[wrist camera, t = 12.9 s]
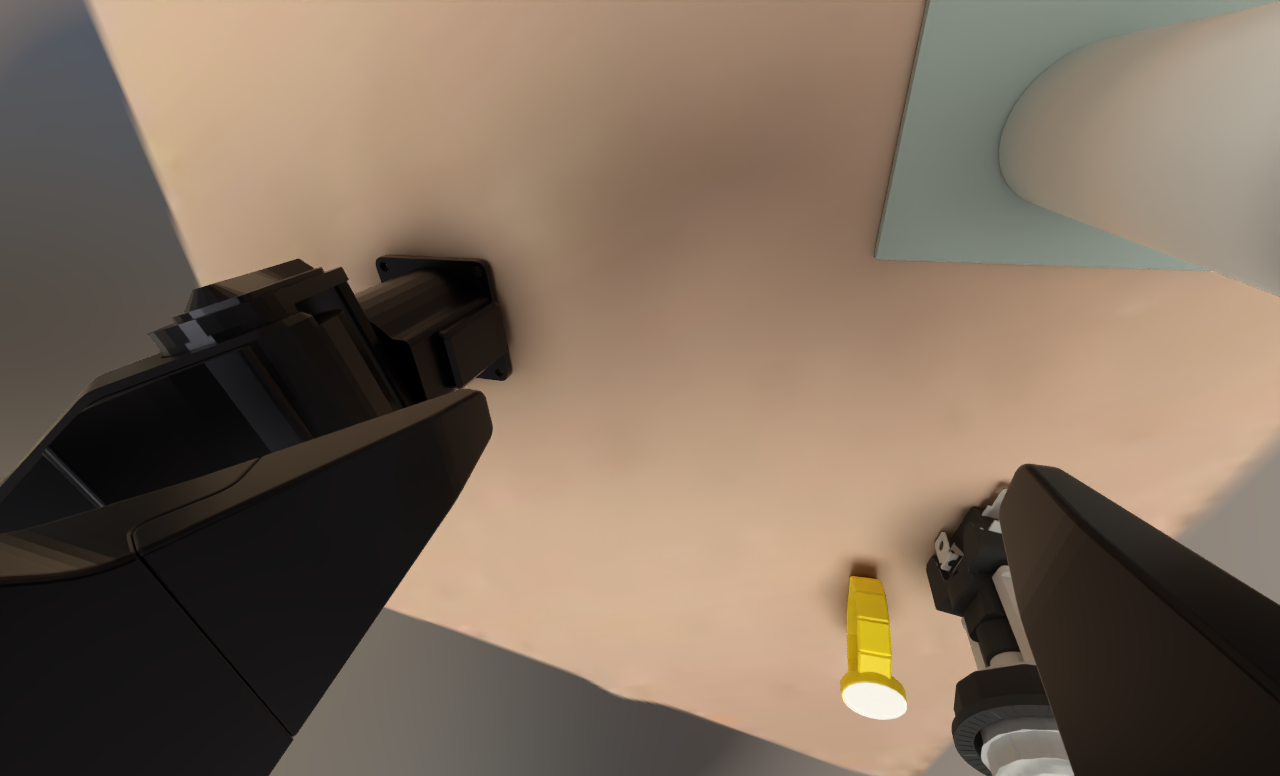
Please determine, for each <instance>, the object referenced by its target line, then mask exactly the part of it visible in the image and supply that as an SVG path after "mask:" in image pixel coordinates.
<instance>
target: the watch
mask: <svg viewBox="0 0 1280 776" xmlns="http://www.w3.org/2000/svg"><path fill="white" fill-rule="evenodd" d="M849 580H850V583H849V594H848V604H847V657H848V671H849V672H848V673H846V674H845V675H844V676H843V677H842V679H841V682H840V685H841V696H842V700H843V701H844V702H845V704H846V705H847V706H848V707H849V708H851V709H852V710H853V711H855V712H857V713H858V714H860V715H863V716H866V717H869V718H873V719H881V720H885V719H894V718H897V717H900V716H901V715H903V714H904V713H905V711H906V710H907V700H906V694H905V689H904V688H903V686H902V684H901V683H900V682H899V681H898V680H896V679H895V678H894V677H892V676H891V675H892V658H891V655H892V652H891V636H890V625H889V615H888V608H887V601H886V595H885V592H884V589H883V585H882V583H881V581H880V580H878V579H872V578H864V577H857V576H851V577H849Z"/></svg>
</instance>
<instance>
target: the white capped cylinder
mask: <svg viewBox="0 0 1280 776" xmlns="http://www.w3.org/2000/svg"><path fill="white" fill-rule="evenodd" d="M999 162H1000V168H1001V171H1002V175H1003V177H1004V179H1005V181H1006V183H1007V184H1008V186H1009V187H1010V188H1011V190H1012V191H1013V192H1014V193H1016V194H1017V195H1018V196H1019V197H1021V198H1022V199H1024V200H1026V201H1028V202H1030V203H1033V204H1035V205H1038V206H1040V207H1043V208H1046V209H1048V210H1051V211H1054V212H1056V213H1059V214H1061V215H1064V216H1067V217H1069V218H1072V219H1075V220H1077V221H1080V222H1083V223H1085V224H1088V225H1091V226H1093V227H1096V228H1099V229H1101V230H1104V231H1107V232H1109V233H1112V234H1115V235H1117V236H1120V237H1122V238H1125V239H1128V240H1130V241H1133V242H1136V243H1138V244H1141V245H1144V246H1146V247H1149V248H1152V249H1154V250H1157V251H1160V252H1162V253H1165V254H1168V255H1170V256H1173V257H1176V258H1178V259H1181V260H1184V261H1186V262H1189V263H1191V264H1194V265H1197V266H1199V267H1202V268H1205V269H1207V270H1210V271H1213V272H1215V273H1218V274H1221V275H1223V276H1226V277H1229V278H1231V279H1234V280H1237V281H1239V282H1242V283H1245V284H1247V285H1250V286H1253V287H1255V288H1258V289H1260V290H1263V291H1266V292H1268V293H1271V294H1274V295H1276V296H1279V297H1280V2H1275V3H1271V4H1266V5H1261V6H1257V7H1252V8H1247V9H1243V10H1238V11H1233V12H1229V13H1224V14H1219V15H1215V16H1210V17H1205V18H1201V19H1196V20H1191V21H1187V22H1182V23H1177V24H1173V25H1168V26H1163V27H1159V28H1154V29H1149V30H1145V31H1140V32H1135V33H1131V34H1126V35H1121V36H1117V37H1112V38H1107V39H1103V40H1100V41H1097V42H1094V43H1091V44H1088V45H1086V46H1083V47H1081V48H1079V49H1077V50H1075V51H1073V52H1071V53H1070V54H1068V55H1066V56H1064V57H1063V58H1061V59H1060V60H1058V61H1057V62H1055V63H1054V64H1053V65H1051V66H1050V67H1049V68H1048V69H1046V70H1045V71H1044V72H1043V73H1042V74H1040V75H1039V76H1038V77H1037V78H1036V79H1035V80H1034V81H1033V82H1032V83H1031V84H1030V86H1029V87H1028V88H1027V89H1026V90H1025V92H1024V93H1023V94H1022V95H1021V97H1020V98H1019V100H1018V101H1017V102H1016V104H1015V105H1014V107H1013V109H1012V111H1011V113H1010V114H1009V116H1008V119H1007V121H1006V123H1005V126H1004V128H1003V132H1002V135H1001V140H1000V146H999Z"/></svg>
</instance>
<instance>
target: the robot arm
mask: <svg viewBox="0 0 1280 776" xmlns="http://www.w3.org/2000/svg"><path fill="white" fill-rule="evenodd" d="M386 264H387V266H388V267H387V266H386ZM376 267H377V270H378V273H379V276H380V279H381V282H382V283H381V284H379V285H376V286H374V287H372V288H369V289H367V290H364V291H362V292H360V293H357V294H355V295H354V293H353V291H352V290H351V288H350V286H349V284H348V282H347V280H349V279H348V277H347V275H346V274H345V272H344V270H343V268H342V267H339V268H335V269H332V270H329V271H325V272H324V271H323V269H322V267H320V268H315V269H314V268H313V267H311V266H310V265H308V264H306V263H305V262H303V261H302V260H300V259H296V260H292V261H289V262H286V263H283V264H279V265H276V266H273V267H269V268H266V269H263V270H259V271H256V272H253V273H249V274H246V275H242V276H239V277H235V278H232V279H228V280H225V281H221V282H218V283H214V284H211V285H208V286H204V287H201V288H198V289H195V290H192V293H191V295H190V298H189V300H188V303H187V305H186V308H185V311H184V313H181V314H178V315H176V316H173V317H171V319H172V321H173V322H174V323H172V324H169V325H167V326H164V327H162V328H159V329H157V330H154V331H152V332H149V333H147V335H148V336H149V337H150V338H151V340H152V341H153V342H154V343H155V345H156V346H157V347H158V348H159V350H160V353H158V354H155V355H152V356H150V357H147V358H144V359H142V360H139V361H136V362H133V363H131V364H129V365H125V366H123V367H120V368H118V369H115V370H112V371H109V372H107V373H104V374H102V375H100V376H98V377H97V378H95V379H94V380H93V381H92V382H90V383H89V385H88V386H87V387H86V388H85V389H84V390H83V391H82V393H80V395H79V396H78V397H77V398H76V399H75V400H74V401H73V403H72V404H71V405H70V406H69V407H68V408H67V409H66V410H65V412H63V414H62V415H61V416H60V417H59V418H58V419H57V420H56V421H55V423H54V424H53V425H52V426H51V427H50V428H49V429H48V430H47V432H46V433H45V434H44V435H43V436H42V437H41V438H40V439H39V441H38V442H37V443H36V444H35V445H34V446H33V447H32V448H31V450H30V451H29V452H28V453H27V454H26V455H25V456H24V457H23V459H22V460H21V461H20V462H19V463H18V464H17V465H16V467H14V469H13V470H12V471H11V472H10V473H8V474H7V475H5V476H3V477H1V478H0V776H269V775H270V773H271V772H272V770H273V769H274V767H275V766H276V764H277V763H278V762H279V760H280V759H281V757H282V756H283V754H284V753H285V751H286V750H287V748H288V747H289V745H290V744H291V743H292V741H293V736H295V735H296V734H297V733H298V732H299V730H300V729H301V727H302V726H303V724H304V723H305V721H306V720H307V718H308V717H309V716H310V714H311V713H312V711H313V710H314V708H315V707H316V705H317V704H318V702H319V701H320V699H321V698H322V697H323V695H324V694H325V692H326V690H327V689H328V687H329V686H330V685H331V683H332V682H333V680H334V679H335V678H336V676H337V675H338V673H339V672H340V670H341V669H342V667H343V666H344V664H345V663H346V661H347V660H348V658H349V657H350V655H351V654H352V652H353V651H354V650H355V648H356V647H357V645H358V644H359V642H360V641H361V639H362V638H363V637H364V635H365V634H366V632H367V631H368V629H369V628H370V626H371V625H372V623H373V622H374V620H375V619H376V617H377V616H378V615H379V613H380V612H381V610H382V609H383V607H384V606H385V604H386V603H387V601H388V600H389V599H390V597H391V596H392V594H393V593H394V591H395V590H396V588H397V587H398V585H399V584H400V582H401V581H402V579H403V578H404V577H405V575H406V574H407V572H408V571H409V569H410V568H411V566H412V565H413V563H414V562H415V560H416V559H417V558H418V556H419V555H420V553H421V552H422V550H423V549H424V547H425V546H426V544H427V543H428V541H429V540H430V539H431V537H432V536H433V534H434V533H435V531H436V530H437V528H438V527H439V525H440V524H441V522H442V521H443V519H444V518H445V517H446V515H447V514H448V512H449V511H450V509H451V508H452V506H453V505H454V503H455V501H456V500H457V498H458V496H459V495H460V493H461V491H462V490H463V488H464V486H465V484H466V482H467V480H468V479H469V477H470V475H471V473H472V471H473V469H474V468H475V466H476V464H477V462H478V460H479V458H480V457H481V455H482V453H483V451H484V449H485V447H486V446H487V444H488V442H489V440H490V438H491V435H492V430H493V426H492V421H491V417H490V413H489V409H488V405H487V400H486V397H485V395H484V394H483V393H482V392H481V391H477V390H470V389H462V388H464V387H465V386H466V385H467V384H468V383H470V382H471V381H472V380H473V379H475V378H483V379H491V380H499V381H504V380H506V379H507V378H508V377H509V376H510V375H511V366H510V361H509V356H508V351H507V350H508V348H507V343H506V338H505V333H504V328H503V323H502V318H501V313H500V308H499V306H498V303H497V298H496V293H495V288H494V283H493V278H492V273H491V269H490V266H489V265H488V263H487V262H485V261H484V260H481V259H466V258H443V257H420V256H398V255H385V256H382V257H379V258H378V259H377V260H376ZM477 267H479V268H480V269H481V271H482V274H480V273H479V272H478V270H477ZM499 369H501V370H502V371H503V373H502V372H501V371H500V370H499ZM457 389H459V390H457ZM455 390H457V391H455ZM999 522H1000V527H1001V532H1002V537H1003V541H1004V546H1005V551H1006V556H1007V560H1008V565H1009V570H1010V575H1011V579H1012V584H1013V589H1014V593H1015V598H1016V603H1017V607H1018V611H1019V615H1020V618H1021V622H1022V625H1023V628H1024V631H1025V634H1026V637H1027V640H1028V643H1029V646H1030V649H1031V652H1032V655H1033V657H1034V660H1035V663H1036V666H1037V669H1038V672H1039V675H1040V678H1041V681H1042V684H1043V686H1044V689H1045V692H1046V695H1047V698H1048V701H1049V704H1050V707H1051V710H1052V713H1053V715H1054V718H1055V721H1056V724H1057V727H1058V730H1059V733H1060V736H1061V739H1062V742H1063V744H1064V747H1065V750H1066V753H1067V756H1068V759H1069V762H1070V765H1071V768H1072V771H1073V773H1074V776H1280V605H1278V604H1277V603H1276V602H1274V601H1272V600H1271V599H1269V598H1267V597H1266V596H1264V595H1263V594H1261V593H1259V592H1258V591H1256V590H1255V589H1253V588H1251V587H1250V586H1248V585H1247V584H1245V583H1243V582H1242V581H1240V580H1238V579H1237V578H1235V577H1234V576H1232V575H1230V574H1229V573H1227V572H1226V571H1224V570H1222V569H1221V568H1219V567H1217V566H1216V565H1214V564H1213V563H1211V562H1209V561H1208V560H1206V559H1205V558H1203V557H1201V556H1200V555H1198V554H1197V553H1195V552H1193V551H1192V550H1190V549H1188V548H1187V547H1185V546H1184V545H1182V544H1180V543H1179V542H1177V541H1176V540H1174V539H1172V538H1171V537H1169V536H1168V535H1166V534H1164V533H1163V532H1161V531H1159V530H1158V529H1156V528H1155V527H1153V526H1151V525H1150V524H1148V523H1147V522H1145V521H1143V520H1142V519H1140V518H1139V517H1137V516H1135V515H1134V514H1132V513H1130V512H1129V511H1127V510H1126V509H1124V508H1122V507H1121V506H1119V505H1118V504H1116V503H1114V502H1113V501H1111V500H1109V499H1108V498H1106V497H1105V496H1103V495H1101V494H1100V493H1098V492H1097V491H1095V490H1093V489H1092V488H1090V487H1089V486H1087V485H1085V484H1084V483H1082V482H1080V481H1079V480H1077V479H1076V478H1074V477H1072V476H1071V475H1069V474H1068V473H1066V472H1064V471H1063V470H1061V469H1059V468H1056V467H1051V466H1043V465H1035V464H1024V465H1021V466H1020V467H1019V468H1018V469H1017V471H1016V472H1015V474H1014V476H1013V479H1012V481H1011V483H1010V485H1009V487H1008V489H1007V491H1006V493H1005V496H1004V498H1003V500H1002V502H1001V505H1000V508H999Z"/></svg>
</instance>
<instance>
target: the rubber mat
mask: <svg viewBox="0 0 1280 776" xmlns="http://www.w3.org/2000/svg"><path fill="white" fill-rule="evenodd" d="M1275 2H1280V0H927V2H926V7H925V12H924V16H923V21H922V26H921V31H920V36H919V40H918V45H917V50H916V55H915V60H914V64H913V69H912V74H911V79H910V84H909V89H908V93H907V98H906V103H905V108H904V113H903V117H902V122H901V127H900V132H899V137H898V142H897V146H896V151H895V156H894V161H893V166H892V170H891V175H890V180H889V185H888V190H887V195H886V199H885V204H884V209H883V214H882V219H881V223H880V228H879V233H878V238H877V243H876V247H875V252H874V256H875V259H877V260H905V261H934V262H962V263H991V264H1020V265H1048V266H1077V267H1105V268H1134V269H1163V270H1191V271H1210V270H1207V269H1205V268H1202V267H1199V266H1197V265H1194V264H1191V263H1189V262H1186V261H1184V260H1181V259H1178V258H1176V257H1173V256H1170V255H1168V254H1165V253H1162V252H1160V251H1157V250H1154V249H1152V248H1149V247H1146V246H1144V245H1141V244H1138V243H1136V242H1133V241H1130V240H1128V239H1125V238H1122V237H1120V236H1117V235H1115V234H1112V233H1109V232H1107V231H1104V230H1101V229H1099V228H1096V227H1093V226H1091V225H1088V224H1085V223H1083V222H1080V221H1077V220H1075V219H1072V218H1069V217H1067V216H1064V215H1061V214H1059V213H1056V212H1054V211H1051V210H1048V209H1046V208H1043V207H1040V206H1038V205H1035V204H1033V203H1030V202H1028V201H1026V200H1024V199H1022V198H1021V197H1019V196H1018V195H1017V194H1016V193H1014V192H1013V191H1012V190H1011V188H1010V187H1009V186H1008V184H1007V183H1006V181H1005V179H1004V177H1003V175H1002V171H1001V168H1000V162H999V146H1000V140H1001V135H1002V132H1003V128H1004V126H1005V123H1006V121H1007V119H1008V116H1009V114H1010V113H1011V111H1012V109H1013V107H1014V105H1015V104H1016V102H1017V101H1018V100H1019V98H1020V97H1021V95H1022V94H1023V93H1024V92H1025V90H1026V89H1027V88H1028V87H1029V86H1030V84H1031V83H1032V82H1033V81H1034V80H1035V79H1036V78H1037V77H1038V76H1039V75H1040V74H1042V73H1043V72H1044V71H1045V70H1046V69H1048V68H1049V67H1050V66H1051V65H1053V64H1054V63H1055V62H1057V61H1058V60H1060V59H1061V58H1063V57H1064V56H1066V55H1068V54H1070V53H1071V52H1073V51H1075V50H1077V49H1079V48H1081V47H1083V46H1086V45H1088V44H1091V43H1094V42H1097V41H1100V40H1103V39H1107V38H1112V37H1117V36H1121V35H1126V34H1131V33H1135V32H1140V31H1145V30H1149V29H1154V28H1159V27H1163V26H1168V25H1173V24H1177V23H1182V22H1187V21H1191V20H1196V19H1201V18H1205V17H1210V16H1215V15H1219V14H1224V13H1229V12H1233V11H1238V10H1243V9H1247V8H1252V7H1257V6H1261V5H1266V4H1271V3H1275Z"/></svg>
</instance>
